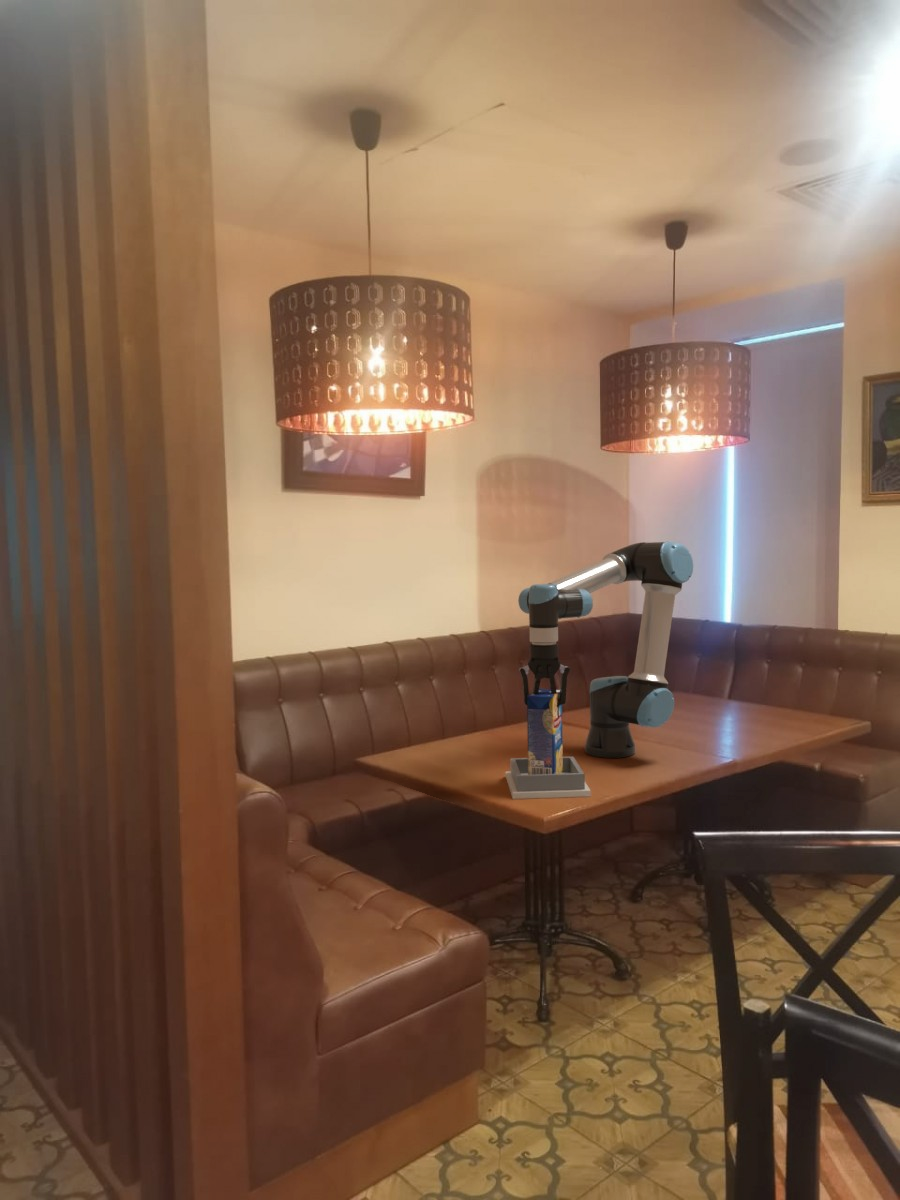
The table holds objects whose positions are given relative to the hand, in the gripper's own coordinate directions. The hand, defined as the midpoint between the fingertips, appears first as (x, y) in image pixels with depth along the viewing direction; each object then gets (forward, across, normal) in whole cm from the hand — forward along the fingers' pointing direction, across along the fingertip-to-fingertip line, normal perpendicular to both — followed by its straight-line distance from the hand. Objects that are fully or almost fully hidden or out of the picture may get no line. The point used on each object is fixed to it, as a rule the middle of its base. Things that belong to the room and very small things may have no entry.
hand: (545, 730), depth 226 cm
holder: (+15, 0, 0) cm, 15 cm away
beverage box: (+12, 0, 0) cm, 12 cm away
